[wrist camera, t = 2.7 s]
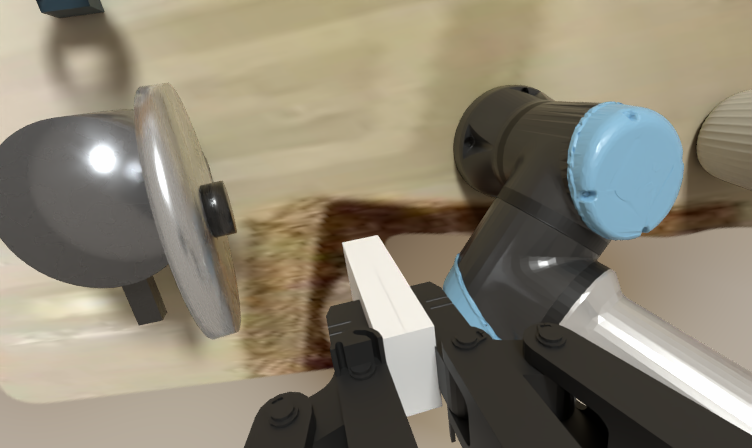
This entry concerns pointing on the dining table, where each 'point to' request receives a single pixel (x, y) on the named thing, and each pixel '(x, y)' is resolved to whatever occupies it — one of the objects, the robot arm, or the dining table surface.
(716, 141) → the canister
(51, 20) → the dining table surface
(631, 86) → the dining table surface
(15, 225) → the cooker pot
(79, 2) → the watch
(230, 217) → the lid
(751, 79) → the dining table surface
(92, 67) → the dining table surface
